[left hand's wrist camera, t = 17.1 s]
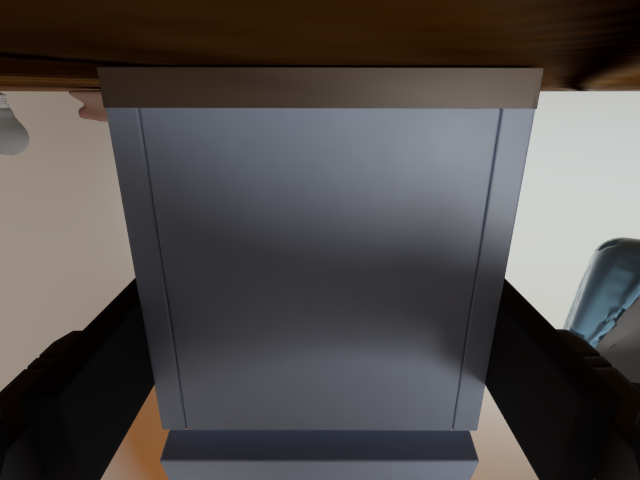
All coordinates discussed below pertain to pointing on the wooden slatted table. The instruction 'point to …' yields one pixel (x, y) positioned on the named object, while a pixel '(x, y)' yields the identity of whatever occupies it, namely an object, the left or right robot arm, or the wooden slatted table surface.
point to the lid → (319, 455)
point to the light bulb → (11, 131)
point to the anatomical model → (91, 105)
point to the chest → (320, 238)
